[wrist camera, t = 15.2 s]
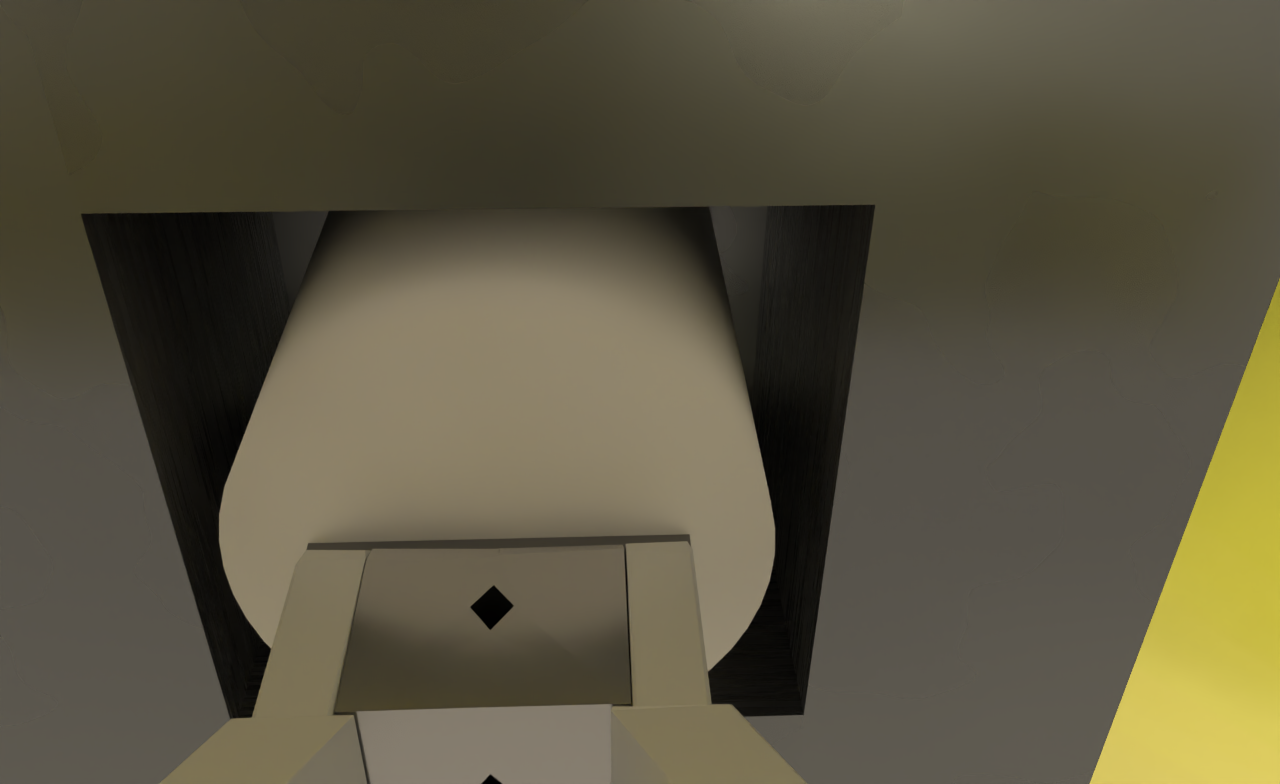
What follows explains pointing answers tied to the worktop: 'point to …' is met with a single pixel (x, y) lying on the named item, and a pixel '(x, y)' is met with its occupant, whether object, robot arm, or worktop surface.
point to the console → (760, 306)
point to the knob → (506, 402)
